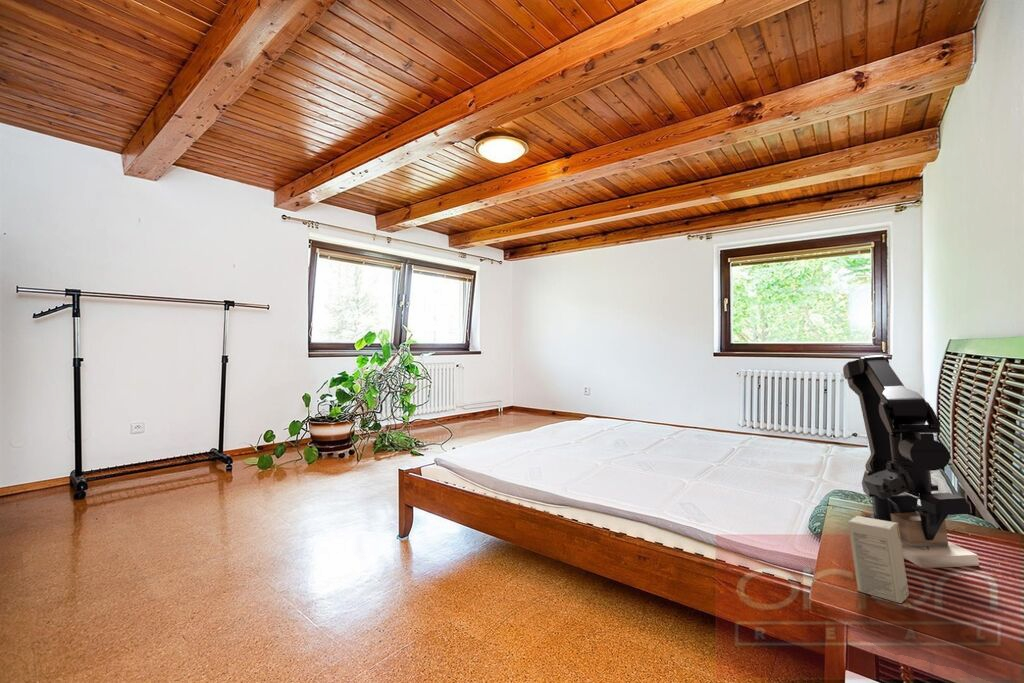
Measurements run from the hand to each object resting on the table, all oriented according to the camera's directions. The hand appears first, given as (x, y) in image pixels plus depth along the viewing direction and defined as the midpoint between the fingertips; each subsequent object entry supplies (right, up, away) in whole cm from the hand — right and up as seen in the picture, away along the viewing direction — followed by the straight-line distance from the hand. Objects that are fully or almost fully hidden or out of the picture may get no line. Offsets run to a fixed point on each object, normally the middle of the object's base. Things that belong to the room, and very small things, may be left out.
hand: (919, 535), depth 91 cm
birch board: (0, -3, -2) cm, 4 cm away
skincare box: (-19, -4, -14) cm, 24 cm away
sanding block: (0, -1, 0) cm, 1 cm away
